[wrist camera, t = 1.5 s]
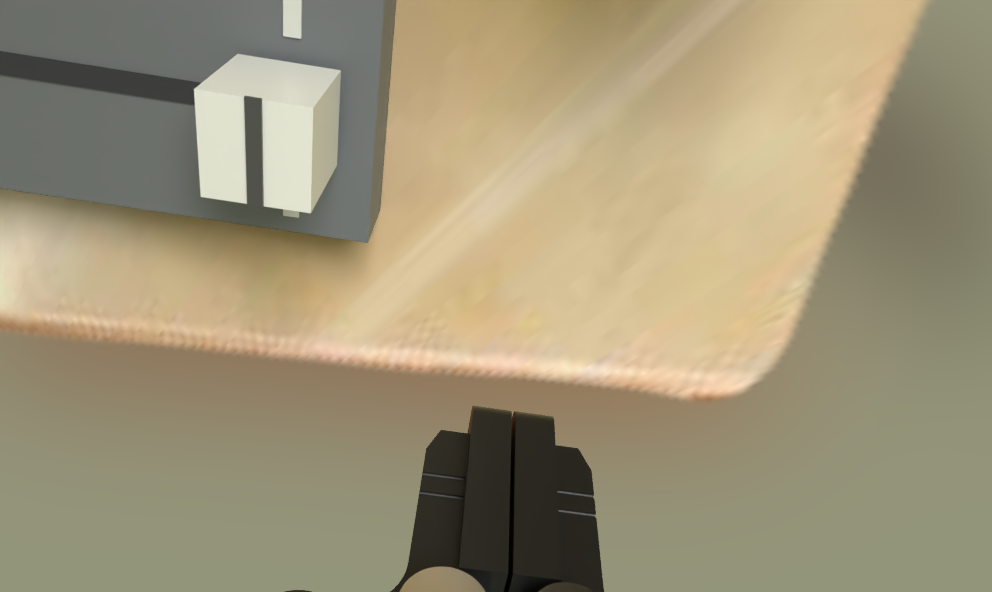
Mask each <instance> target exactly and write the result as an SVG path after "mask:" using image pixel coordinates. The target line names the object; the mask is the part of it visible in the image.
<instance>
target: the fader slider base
mask: <svg viewBox="0 0 992 592" xmlns="http://www.w3.org/2000/svg"><path fill="white" fill-rule="evenodd" d="M395 9H396V0H0V188H1V189H8V190H14V191H21V192H28V193H35V194H41V195H48V196H55V197H62V198H68V199H75V200H82V201H89V202H95V203H102V204H109V205H116V206H122V207H129V208H136V209H143V210H149V211H156V212H163V213H170V214H176V215H183V216H190V217H197V218H203V219H210V220H217V221H224V222H230V223H237V224H244V225H251V226H257V227H264V228H271V229H278V230H284V231H291V232H298V233H305V234H311V235H318V236H325V237H332V238H338V239H345V240H352V241H359V242H365V243H368V241H369V238H370V236H371V233H372V230H373V227H374V225H375V222H376V219H377V217H378V214H379V211H380V205H381V192H382V179H383V166H384V153H385V140H386V127H387V114H388V101H389V87H390V74H391V61H392V48H393V35H394V22H395ZM237 54H242V55H248V56H255V57H261V58H267V59H273V60H280V61H286V62H292V63H299V64H305V65H311V66H317V67H324V68H330V69H336V70H341V82H340V106H339V130H338V155H337V166H336V168H335V170H334V172H333V174H332V176H331V177H330V179H329V181H328V183H327V185H326V186H325V188H324V190H323V192H322V194H321V196H320V197H319V199H318V201H317V203H316V205H315V207H314V208H313V210H312V212H311V213H305V212H298V211H291V210H285V209H278V208H271V207H265V206H264V208H263V209H259V208H252V207H247V204H245V203H238V202H231V201H225V200H218V199H211V198H205V197H201V194H200V178H199V162H198V147H197V131H196V115H195V99H194V89H195V88H196V87H197V86H198V85H200V84H201V83H202V82H203V81H205V80H206V79H207V78H208V77H210V76H211V75H212V74H213V73H215V72H216V71H217V70H218V69H219V68H221V67H222V66H223V65H224V64H226V63H227V62H228V61H229V60H231V59H232V58H233V57H234V56H236V55H237Z"/></svg>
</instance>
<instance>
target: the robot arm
mask: <svg viewBox="0 0 992 592" xmlns="http://www.w3.org/2000/svg"><path fill="white" fill-rule="evenodd" d="M554 430H555V429H554V418H553V417H552V416H545V415H537V414H530V413H522V412H514V414H513V416H512V413H511V411H507V410H500V409H493V408H485V407H478V406H473V407H472V411H471V417H470V423H469V429H468V434H467V433H459V432H452V431H445V430H441V431H440V432H439V433H438V435H437V436H436V437H435V438H434V440H433V441H432V442H431V443H430V445H429V446H428V447H427V448H426V455H425V461H424V467H423V473H422V480H421V486H420V492H419V499H418V505H417V512H416V518H415V524H414V530H413V537H412V543H411V550H410V556H409V562H408V566H407V570H406V573H405V575H404V577H403V578H402V580H401V581H400V583H399V584H398V585H397V586H396V587H395V588H394V589H393V590H392V591H391V592H604V589H603V579H602V570H601V560H600V550H599V540H598V530H597V521H596V518H595V514H596V511H595V501H594V499H593V495H594V491H593V482H592V472H591V469H590V468H589V466H588V464H587V463H586V461H585V459H584V458H583V456H582V454H581V452H580V451H579V449H577V448H571V447H563V446H556V445H555V431H554ZM286 592H310V591H305V590H294V591H293V590H292V591H286Z"/></svg>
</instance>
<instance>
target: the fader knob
mask: <svg viewBox="0 0 992 592" xmlns="http://www.w3.org/2000/svg"><path fill="white" fill-rule="evenodd" d="M340 82H341V70H336V69H330V68H324V67H317V66H311V65H305V64H299V63H292V62H286V61H280V60H273V59H267V58H261V57H255V56H248V55H242V54H237V55H236V56H234V57H233V58H232V59H231V60H229V61H228V62H227V63H226V64H224V65H223V66H222V67H221V68H219V69H218V70H217V71H216V72H215V73H213V74H212V75H211V76H210V77H208V78H207V79H206V80H205V81H203V82H202V83H201V84H200V85H198V86H197V87H196V88H195V89H194V99H195V115H196V131H197V147H198V162H199V178H200V194H201V197H205V198H211V199H218V200H225V201H231V202H238V203H245V204H247V207H252V208H259V209H263V208H264V206H265V207H271V208H278V209H285V210H291V211H298V212H305V213H311V212H312V210H313V208H314V207H315V205H316V203H317V201H318V199H319V197H320V196H321V194H322V192H323V190H324V188H325V186H326V185H327V183H328V181H329V179H330V177H331V176H332V174H333V172H334V170H335V168H336V166H337V155H338V130H339V106H340Z"/></svg>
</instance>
